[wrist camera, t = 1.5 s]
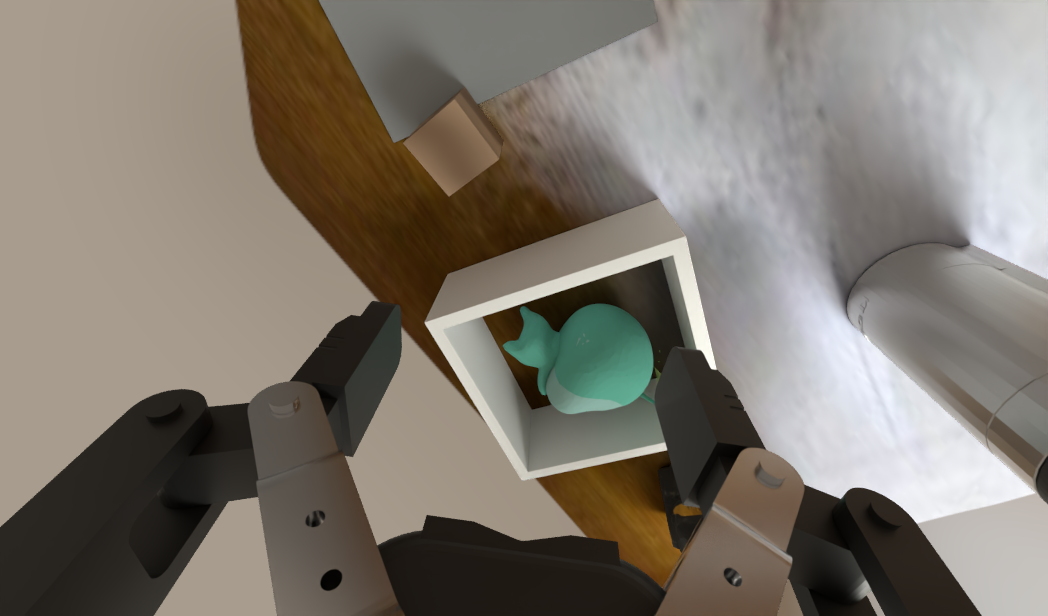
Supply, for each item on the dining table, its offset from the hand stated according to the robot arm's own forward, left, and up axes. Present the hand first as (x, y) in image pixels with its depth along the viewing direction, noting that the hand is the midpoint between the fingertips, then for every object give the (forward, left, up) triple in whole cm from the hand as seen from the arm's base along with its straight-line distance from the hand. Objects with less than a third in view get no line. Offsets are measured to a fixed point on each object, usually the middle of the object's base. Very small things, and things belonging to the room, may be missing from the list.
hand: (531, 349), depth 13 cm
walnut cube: (+5, -5, -23) cm, 24 cm away
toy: (+2, +16, -24) cm, 29 cm away
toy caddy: (+2, +15, -24) cm, 28 cm away
